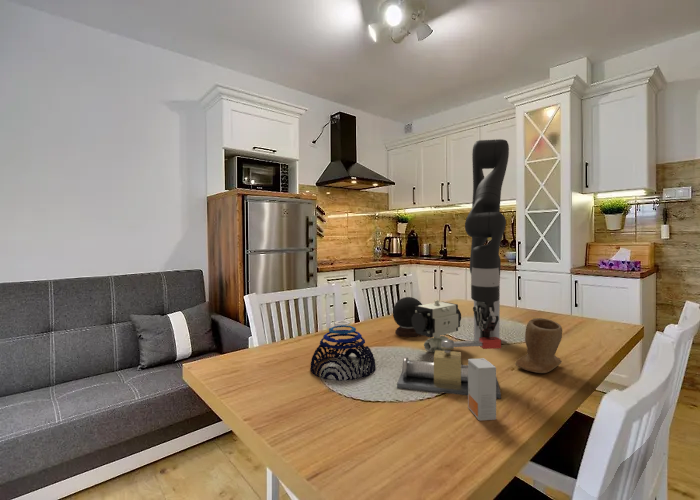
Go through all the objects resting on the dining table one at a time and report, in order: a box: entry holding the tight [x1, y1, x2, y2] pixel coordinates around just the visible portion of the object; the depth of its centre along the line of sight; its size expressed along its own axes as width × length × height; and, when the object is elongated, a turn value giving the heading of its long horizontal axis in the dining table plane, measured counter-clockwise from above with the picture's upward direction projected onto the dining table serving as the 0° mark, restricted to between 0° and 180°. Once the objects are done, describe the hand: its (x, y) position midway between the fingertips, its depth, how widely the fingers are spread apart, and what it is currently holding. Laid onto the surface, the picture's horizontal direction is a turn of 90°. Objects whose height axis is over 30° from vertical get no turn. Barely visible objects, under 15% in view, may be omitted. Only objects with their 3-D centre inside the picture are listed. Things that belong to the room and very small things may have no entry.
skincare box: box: [467, 357, 497, 422], centre depth 83 cm, size 6×4×12 cm
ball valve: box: [412, 299, 462, 353], centre depth 128 cm, size 18×8×18 cm, turn 124°
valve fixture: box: [396, 350, 502, 400], centre depth 100 cm, size 12×26×10 cm, turn 73°
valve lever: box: [442, 337, 502, 351], centre depth 100 cm, size 16×3×2 cm, turn 94°
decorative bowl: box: [310, 320, 377, 382], centre depth 113 cm, size 20×20×14 cm
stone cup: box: [514, 317, 563, 374], centre depth 110 cm, size 15×12×15 cm
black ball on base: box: [392, 296, 423, 338], centre depth 151 cm, size 13×13×15 cm
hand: (485, 343), depth 104 cm, fingers closed
